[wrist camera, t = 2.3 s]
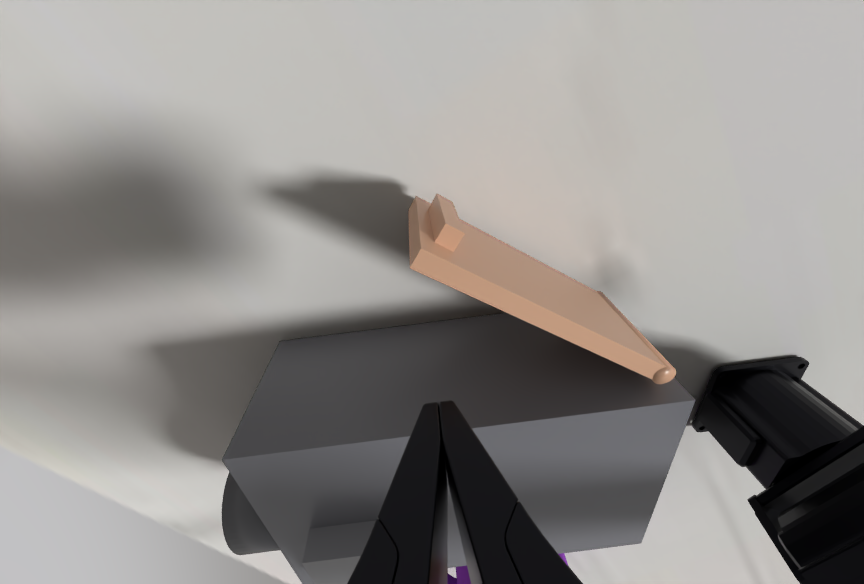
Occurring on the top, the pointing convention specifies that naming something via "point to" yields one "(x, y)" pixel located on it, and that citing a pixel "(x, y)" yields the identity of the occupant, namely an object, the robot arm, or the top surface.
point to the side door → (525, 288)
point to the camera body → (485, 413)
